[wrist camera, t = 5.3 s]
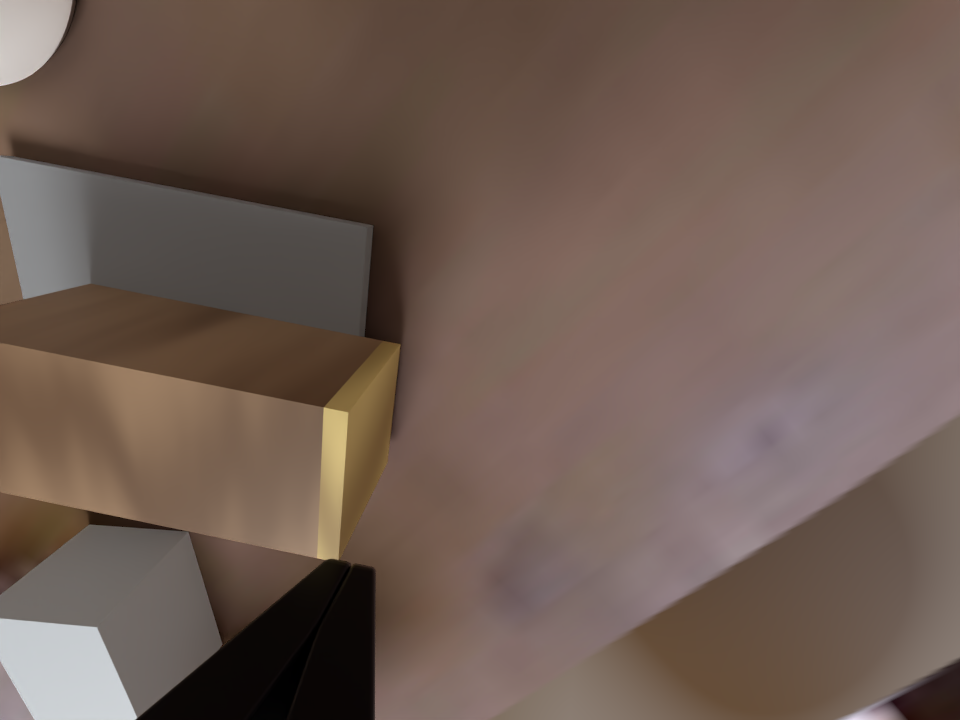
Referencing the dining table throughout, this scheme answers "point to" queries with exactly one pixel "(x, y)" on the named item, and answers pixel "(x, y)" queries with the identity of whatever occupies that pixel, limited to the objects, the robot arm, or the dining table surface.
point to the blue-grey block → (107, 624)
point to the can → (31, 35)
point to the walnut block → (193, 417)
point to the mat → (184, 246)
